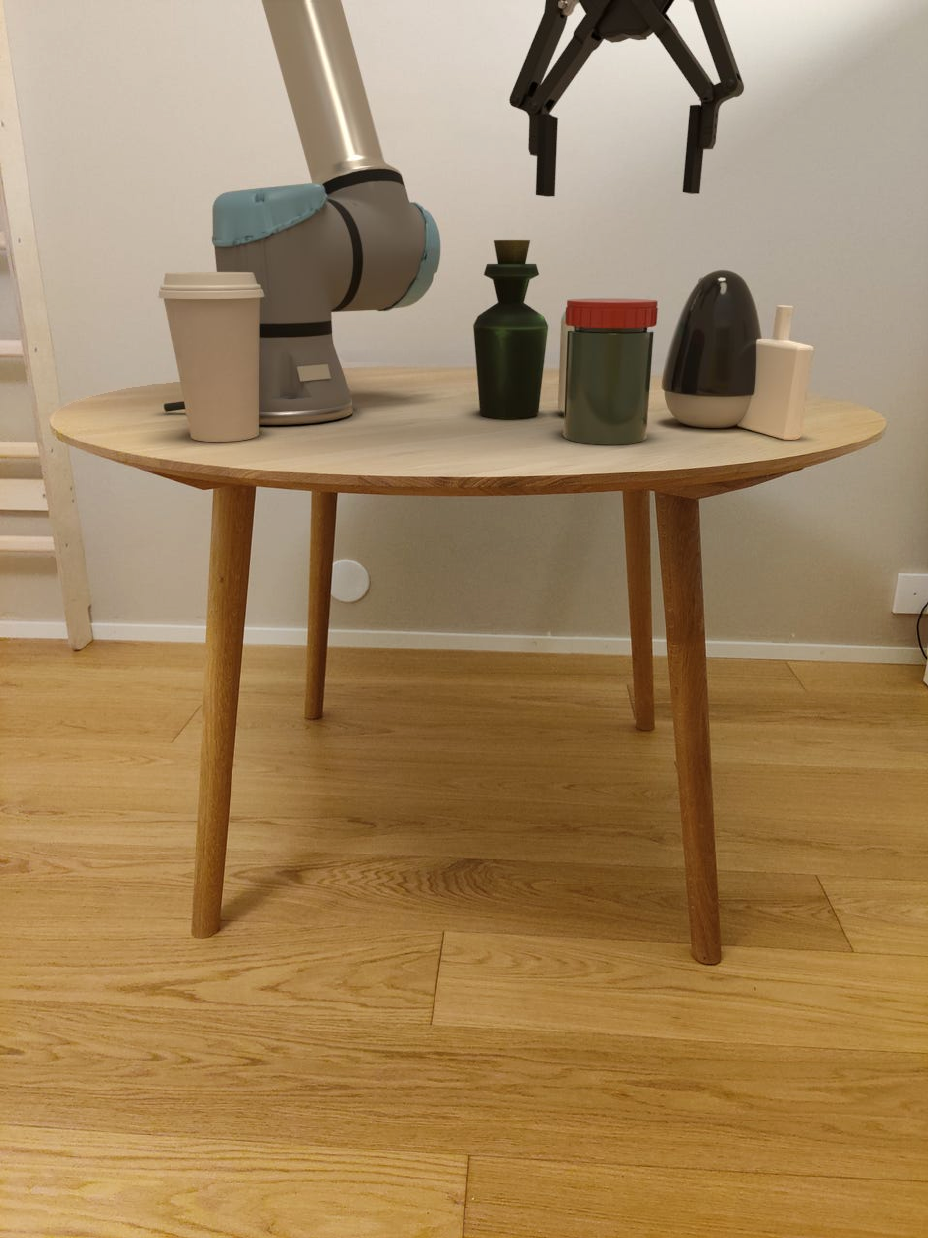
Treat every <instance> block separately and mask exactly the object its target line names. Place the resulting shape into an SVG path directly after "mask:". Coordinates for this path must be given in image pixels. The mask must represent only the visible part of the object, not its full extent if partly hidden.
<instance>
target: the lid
mask: <svg viewBox="0 0 928 1238" xmlns="http://www.w3.org/2000/svg"><path fill="white" fill-rule="evenodd" d="M658 310H659V308H658V300H656V299H646V298H645V299H644V298H571V299H567V300H566V307H565V311H566V321H565V323H566V325H568V326H574V327H586V328H646V327H647V328H653V327H656V326H657V324H658Z"/></svg>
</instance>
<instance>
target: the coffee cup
mask: <svg viewBox="0 0 928 1238" xmlns="http://www.w3.org/2000/svg"><path fill="white" fill-rule="evenodd" d="M159 288H160V289H159V290H158V298H159V299H163V303H164V307H165V312H166V318H167V322H168V326H169V332H170V338H171V342H172V347H173V352H174V358H175V363H176V368H177V373H178V377H179V382H180V388H181V393H182V398H183V401H184V404H185V409H184V410H185V414H186V419H187V424H188V425H187V426H188V429H189V434H190V439H192V440H194V441H198V442H206V443H233V442H242V441H247V440H251V439H255V438H257V437H259V435H260V425H259V323H260V297H265V296H264V293H263V290H262V289H261V286H260V285H259V284H257V281H256V278H255V275H254V273H253V272H217V271H178V272H177V271H176V272H174V271H173V272H172V271H171V272H165V273H164V279H163V284H161V285H160V287H159Z"/></svg>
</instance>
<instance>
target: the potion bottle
mask: <svg viewBox="0 0 928 1238" xmlns="http://www.w3.org/2000/svg"><path fill="white" fill-rule="evenodd" d="M530 243H531V239H494V240H493V245H494V250H495V256H496V262H497V263H486V266H485V269H484V272H483V276H485V277H487V278H489V279H491V280H492V282H493V286H494V290H495V296H496V299H497V303H495V304H494V305H492V306H489V308H487V309H486V310H485V311H483V312H482V313H480V314H478V316H476V319H475V320H474V323H473V324H472V331H473V342H474V353H475V367H476V378H477V381H476V382H477V392H478V406H479V412H480V414H481V415H482V416H483V417H485V418H491V419H498V420H499V419H500V420H521V419H530V418H534V417H536V416H537V415H538V414H539V411H540V401H541V394H542V385H543V376H544V367H545V359H546V350H547V340H548V331H549V324H548V322H547V320H546V318H545V316H543V315H542V314H541V313H539V311H537V310H536V309H534V308H532V307H531V306H529V305H528V304H526V303H525V299H526V295H527V291H528V287H529V284H530V280H532V279H534V278H535V277H538V276H540V272H539V268H538V266H537V263H526V262H527V258H528V254H529V248H530Z"/></svg>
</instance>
